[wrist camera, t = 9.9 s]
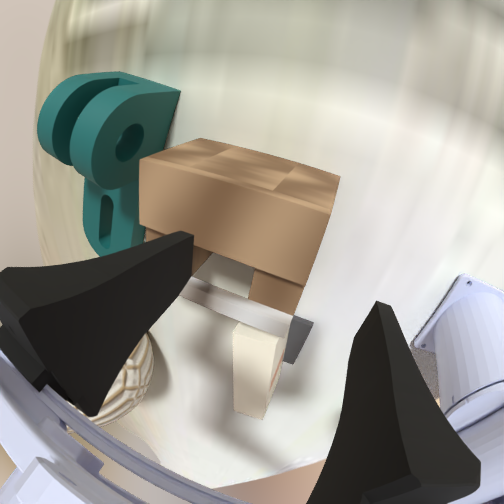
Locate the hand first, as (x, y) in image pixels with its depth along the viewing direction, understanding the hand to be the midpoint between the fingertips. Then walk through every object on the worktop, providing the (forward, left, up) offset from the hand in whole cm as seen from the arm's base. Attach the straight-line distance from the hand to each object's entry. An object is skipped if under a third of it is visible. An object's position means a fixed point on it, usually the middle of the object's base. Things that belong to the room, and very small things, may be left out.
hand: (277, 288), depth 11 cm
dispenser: (+4, +2, -10) cm, 11 cm away
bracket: (+16, +3, -10) cm, 20 cm away
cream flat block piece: (0, +14, -9) cm, 17 cm away
